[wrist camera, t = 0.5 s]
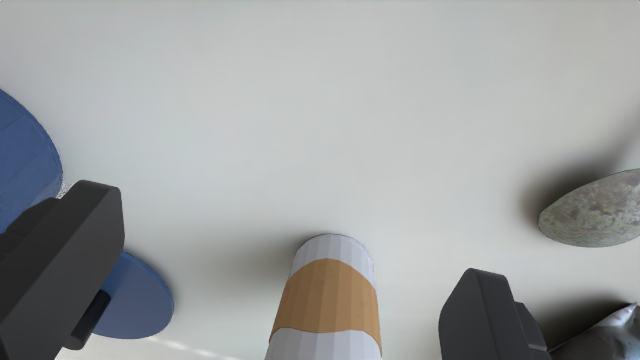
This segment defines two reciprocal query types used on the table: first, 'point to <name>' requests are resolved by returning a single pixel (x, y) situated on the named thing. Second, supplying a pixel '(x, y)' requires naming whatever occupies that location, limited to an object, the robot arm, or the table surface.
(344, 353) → the coffee cup
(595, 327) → the lucky cat figurine
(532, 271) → the table surface
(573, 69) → the table surface
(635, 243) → the table surface
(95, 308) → the tin lid
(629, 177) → the soupspoon
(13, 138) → the tin
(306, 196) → the table surface
